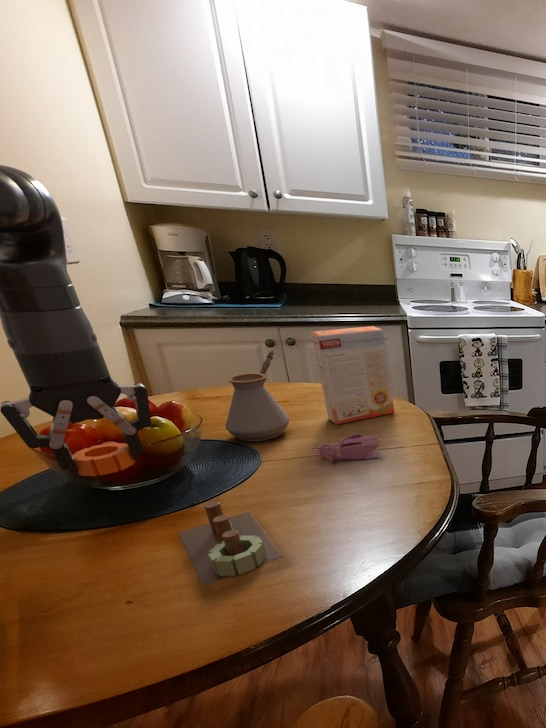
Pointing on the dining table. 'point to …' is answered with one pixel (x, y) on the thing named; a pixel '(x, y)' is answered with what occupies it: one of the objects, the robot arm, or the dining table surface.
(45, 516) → the dining table surface
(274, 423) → the coffee pot
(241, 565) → the green ring
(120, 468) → the orange grooved ring
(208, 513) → the rack
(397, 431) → the dining table surface
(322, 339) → the cracker box
